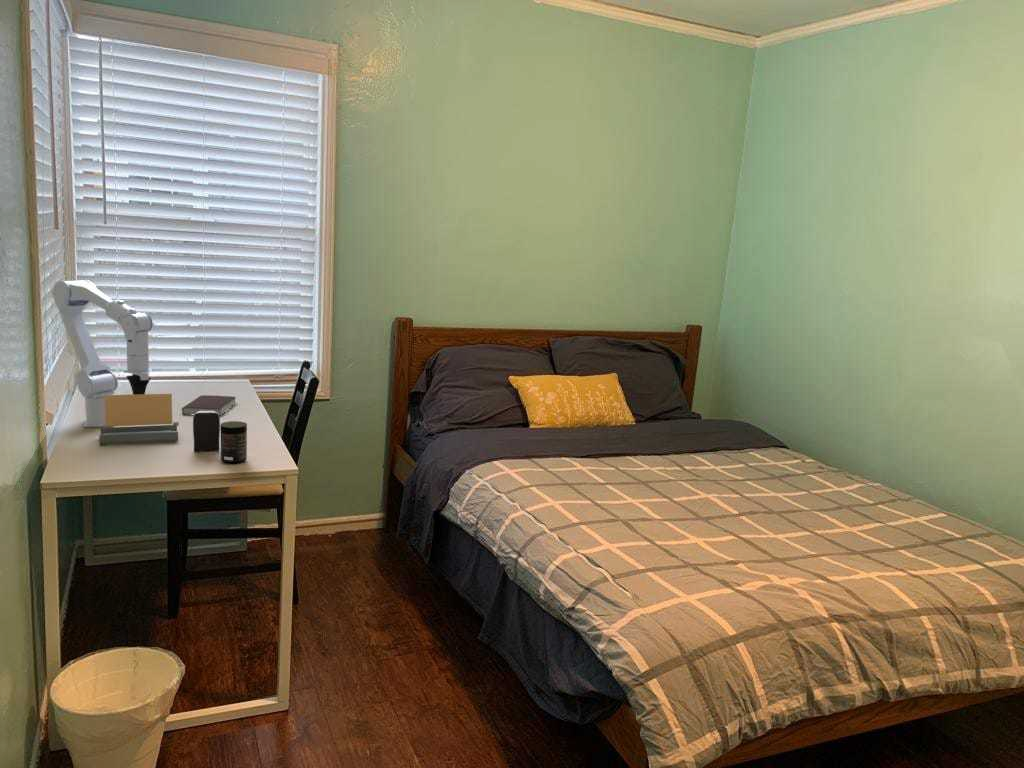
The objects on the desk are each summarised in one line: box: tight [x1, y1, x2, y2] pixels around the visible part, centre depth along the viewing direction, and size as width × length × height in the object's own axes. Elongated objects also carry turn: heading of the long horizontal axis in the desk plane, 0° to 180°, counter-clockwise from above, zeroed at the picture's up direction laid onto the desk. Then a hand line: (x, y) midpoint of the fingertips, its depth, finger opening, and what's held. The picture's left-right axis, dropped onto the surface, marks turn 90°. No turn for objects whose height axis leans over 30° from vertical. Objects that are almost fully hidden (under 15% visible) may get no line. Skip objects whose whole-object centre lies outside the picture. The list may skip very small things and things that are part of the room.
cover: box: [104, 393, 173, 428], centre depth 224 cm, size 9×18×1 cm
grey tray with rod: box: [97, 421, 180, 447], centre depth 221 cm, size 9×21×4 cm, turn 115°
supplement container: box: [220, 420, 248, 466], centre depth 207 cm, size 7×7×10 cm
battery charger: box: [192, 411, 221, 453], centre depth 215 cm, size 7×4×11 cm, turn 111°
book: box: [181, 394, 237, 417], centre depth 261 cm, size 12×19×3 cm, turn 4°
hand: (138, 399), depth 226 cm, fingers closed
